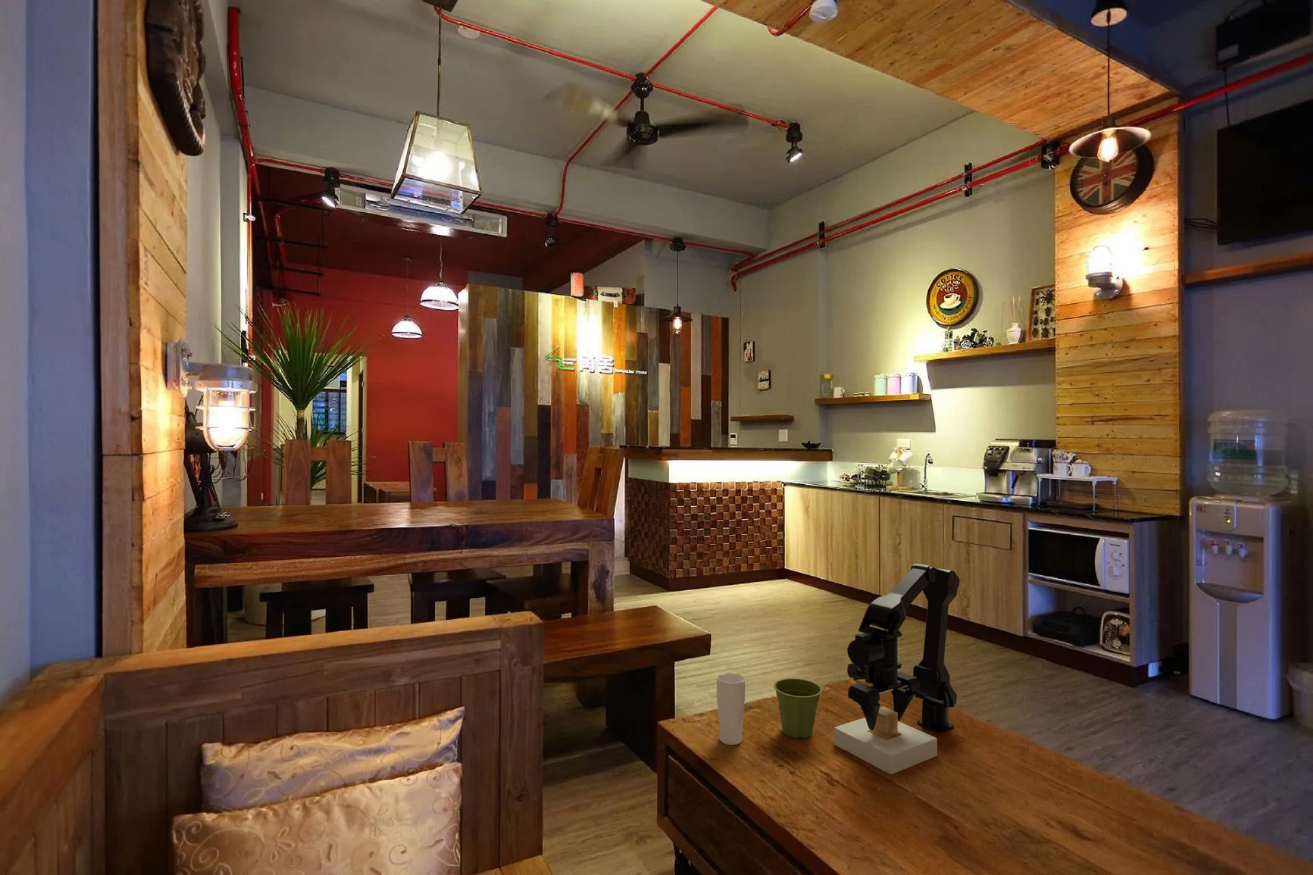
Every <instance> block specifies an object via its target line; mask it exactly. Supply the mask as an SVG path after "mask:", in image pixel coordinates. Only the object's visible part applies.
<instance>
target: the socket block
mask: <svg viewBox="0 0 1313 875" xmlns="http://www.w3.org/2000/svg"><path fill="white" fill-rule="evenodd" d="M833 742H834V743H833V744H834V746H836V747H839V748H840V749H842V750H844V751H846V752H848V753H850V755H851V754H852V755H853V756H856V757H857V758H859V759H861V760H863V761H865V762H866V763H868V764H869V765H870V764H871V765H872V766H874V767H875V768H878V769H880V770H882V771H883V772H885V773H887V774H889V775H894V774H895V773H899V772H901V771H903V770H905V769H908V768H911V767H913V766H915V765H918V764H921V763H923V762H926V761H928V760H930V759H933V758H935V757H937V756H938V738H937V737H935V736H932V735H931V734H928V733H927V732H924V731H921V730H919V729H917V728H914V727H912V726H910V725H908V724H906V723H903V722H901V721H898V737H895V738H892V739H889V740H885V739H883V738H881V737H879V736H876V735H874V734H872V730H870V729H869V728H868V725H867V722H866V719H865V717H863V718H858V719H856V720H853V721H850V722H847V723H843V724H841V725H838V726H834V727H833Z"/></svg>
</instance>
